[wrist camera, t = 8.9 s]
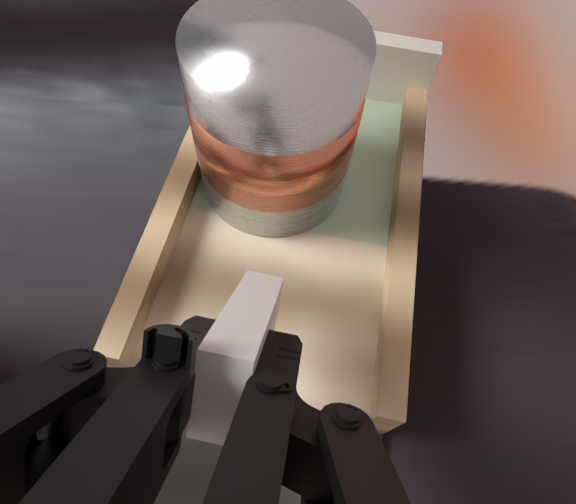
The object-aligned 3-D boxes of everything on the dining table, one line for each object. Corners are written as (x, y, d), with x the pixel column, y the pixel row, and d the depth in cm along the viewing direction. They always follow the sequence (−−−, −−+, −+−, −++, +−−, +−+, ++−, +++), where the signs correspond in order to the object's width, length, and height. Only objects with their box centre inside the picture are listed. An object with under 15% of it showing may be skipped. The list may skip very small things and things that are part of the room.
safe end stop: (395, 275, 26) (434, 208, 20) (178, 232, 27) (152, 154, 21) (408, 128, 32) (442, 42, 26) (230, 96, 33) (222, 4, 27)
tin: (181, 154, 26) (144, 6, 18) (299, 111, 28) (313, -38, 20) (240, 262, 23) (227, 138, 15) (369, 204, 25) (418, 69, 17)
